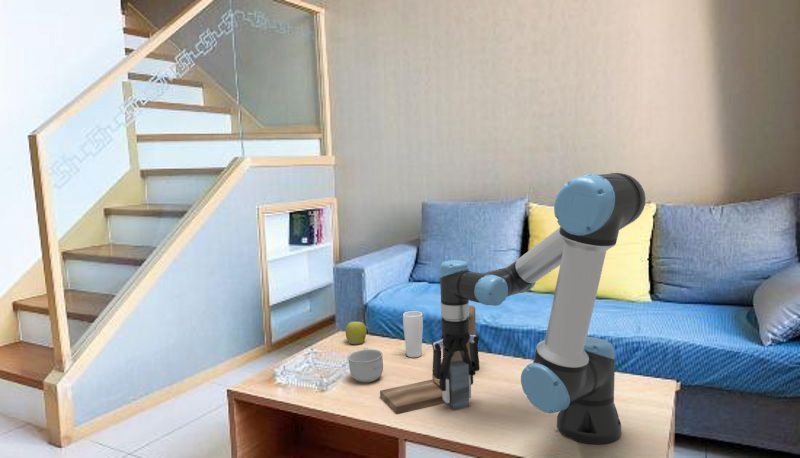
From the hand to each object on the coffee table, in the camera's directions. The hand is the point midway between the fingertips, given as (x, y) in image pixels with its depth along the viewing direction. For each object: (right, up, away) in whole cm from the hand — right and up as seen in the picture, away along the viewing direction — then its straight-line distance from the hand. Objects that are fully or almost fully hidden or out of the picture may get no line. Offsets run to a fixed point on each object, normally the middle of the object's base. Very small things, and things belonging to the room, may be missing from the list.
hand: (456, 398), depth 155 cm
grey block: (-2, -1, +5) cm, 6 cm away
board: (-9, -1, +6) cm, 11 cm away
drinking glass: (-11, +3, +40) cm, 41 cm away
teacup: (-26, 0, +22) cm, 34 cm away
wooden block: (+4, +1, +27) cm, 27 cm away
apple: (-32, +4, +56) cm, 64 cm away
